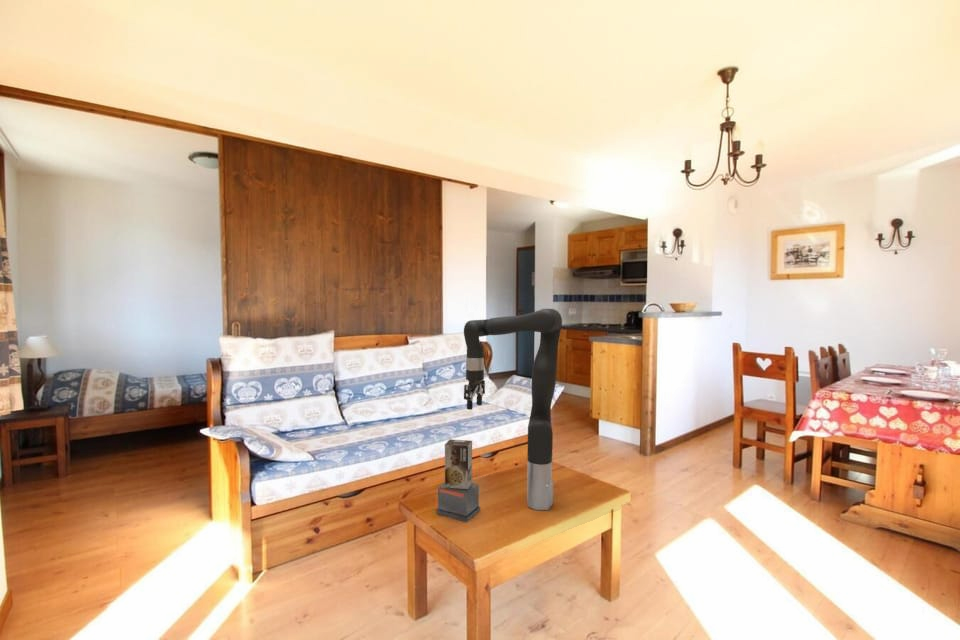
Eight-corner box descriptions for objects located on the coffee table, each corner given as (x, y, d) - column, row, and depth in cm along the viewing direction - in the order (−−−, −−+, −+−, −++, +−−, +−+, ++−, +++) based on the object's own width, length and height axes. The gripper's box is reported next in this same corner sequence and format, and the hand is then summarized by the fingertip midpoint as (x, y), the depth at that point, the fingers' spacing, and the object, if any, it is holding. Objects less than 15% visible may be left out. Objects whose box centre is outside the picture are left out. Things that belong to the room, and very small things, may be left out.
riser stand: (480, 510, 167) (480, 484, 167) (466, 522, 158) (467, 494, 158) (450, 503, 173) (450, 477, 173) (436, 513, 164) (436, 486, 164)
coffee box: (472, 483, 168) (472, 440, 167) (468, 490, 161) (468, 445, 161) (449, 480, 170) (449, 438, 169) (444, 487, 163) (444, 443, 163)
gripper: (474, 365, 193) (474, 402, 194) (458, 369, 181) (458, 409, 181) (490, 366, 190) (490, 404, 191) (475, 371, 177) (474, 412, 178)
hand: (474, 407), depth 186 cm, fingers open, 8 cm apart
